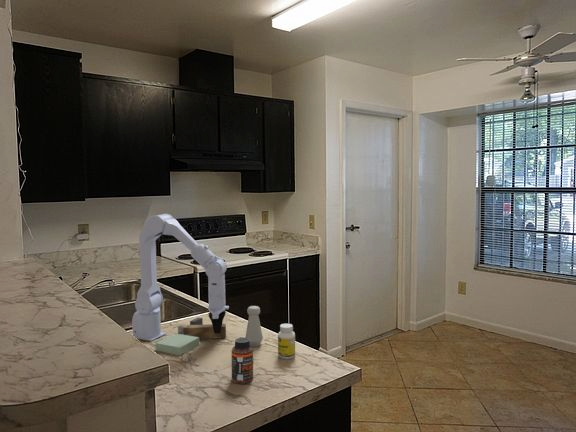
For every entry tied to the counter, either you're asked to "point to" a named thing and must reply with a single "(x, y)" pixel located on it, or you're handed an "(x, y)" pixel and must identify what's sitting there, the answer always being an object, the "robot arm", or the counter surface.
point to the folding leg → (201, 331)
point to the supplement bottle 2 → (286, 341)
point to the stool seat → (177, 344)
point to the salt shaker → (254, 327)
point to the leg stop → (197, 321)
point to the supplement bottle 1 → (242, 361)
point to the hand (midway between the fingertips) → (217, 332)
